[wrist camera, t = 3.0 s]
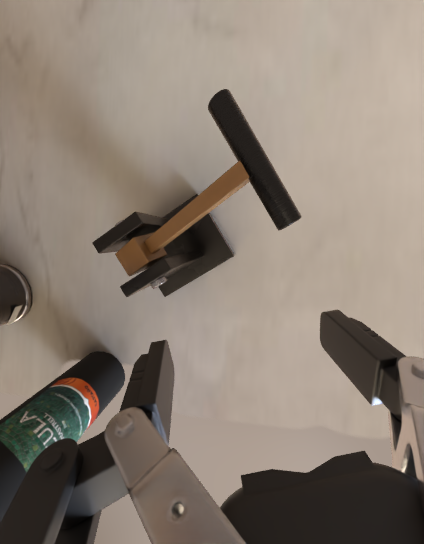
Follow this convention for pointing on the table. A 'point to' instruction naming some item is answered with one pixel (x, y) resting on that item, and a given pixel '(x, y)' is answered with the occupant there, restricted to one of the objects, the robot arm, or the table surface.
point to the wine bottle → (55, 417)
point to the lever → (219, 188)
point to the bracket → (169, 250)
